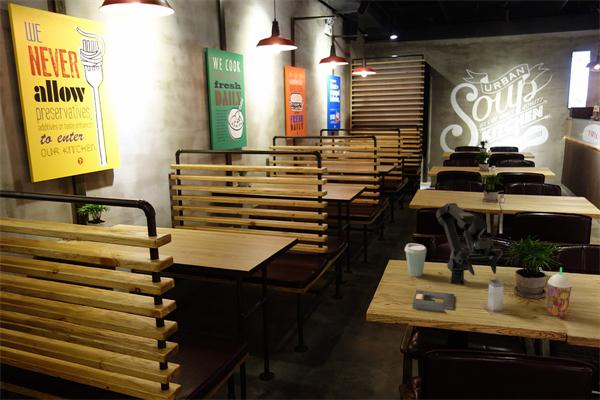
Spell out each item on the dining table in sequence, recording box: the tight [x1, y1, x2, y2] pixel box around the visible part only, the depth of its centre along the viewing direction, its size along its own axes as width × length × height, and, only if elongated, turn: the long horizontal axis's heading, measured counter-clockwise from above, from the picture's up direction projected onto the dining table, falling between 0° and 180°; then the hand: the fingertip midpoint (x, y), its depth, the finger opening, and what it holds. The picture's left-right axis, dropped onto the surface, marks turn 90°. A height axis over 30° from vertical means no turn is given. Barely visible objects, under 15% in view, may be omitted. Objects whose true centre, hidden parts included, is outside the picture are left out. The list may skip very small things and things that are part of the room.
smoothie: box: [546, 267, 573, 319], centre depth 185 cm, size 8×8×20 cm
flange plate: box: [412, 289, 455, 313], centre depth 201 cm, size 14×16×3 cm
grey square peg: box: [487, 278, 505, 312], centre depth 190 cm, size 4×4×12 cm
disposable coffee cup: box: [404, 242, 427, 278], centre depth 232 cm, size 11×11×15 cm
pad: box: [480, 304, 510, 315], centre depth 191 cm, size 8×8×2 cm
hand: (484, 274), depth 196 cm, fingers open, 9 cm apart
